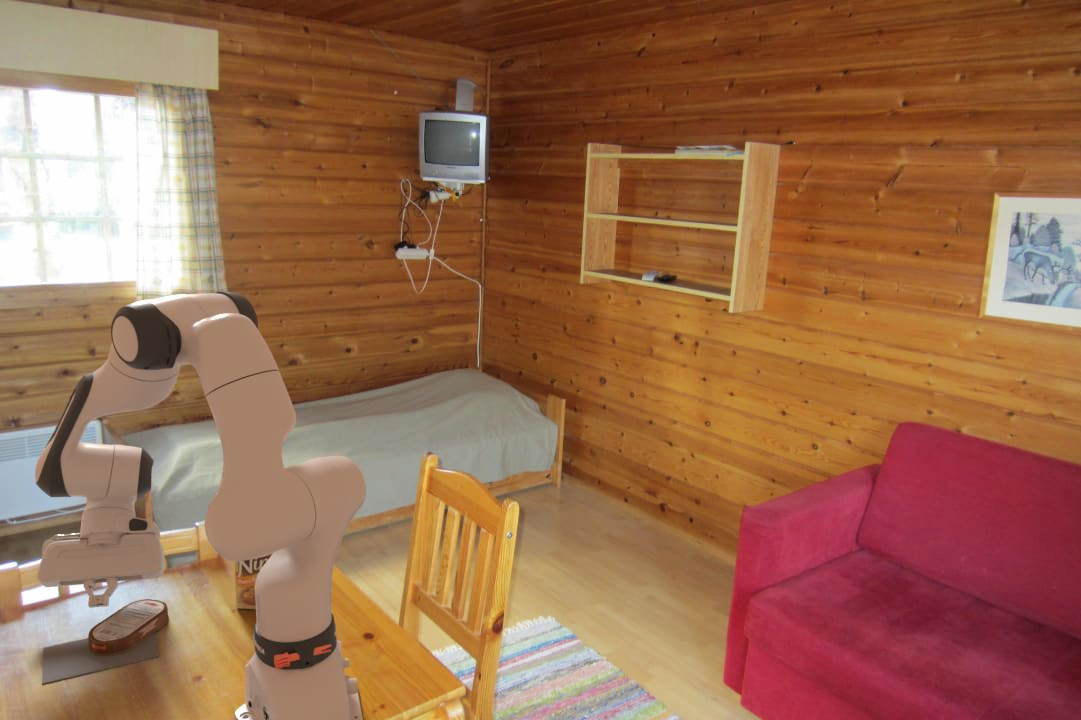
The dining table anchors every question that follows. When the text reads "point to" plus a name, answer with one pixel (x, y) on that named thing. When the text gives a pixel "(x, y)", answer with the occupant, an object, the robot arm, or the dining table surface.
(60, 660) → the felt mat
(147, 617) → the tin
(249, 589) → the candy box
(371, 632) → the dining table surface
